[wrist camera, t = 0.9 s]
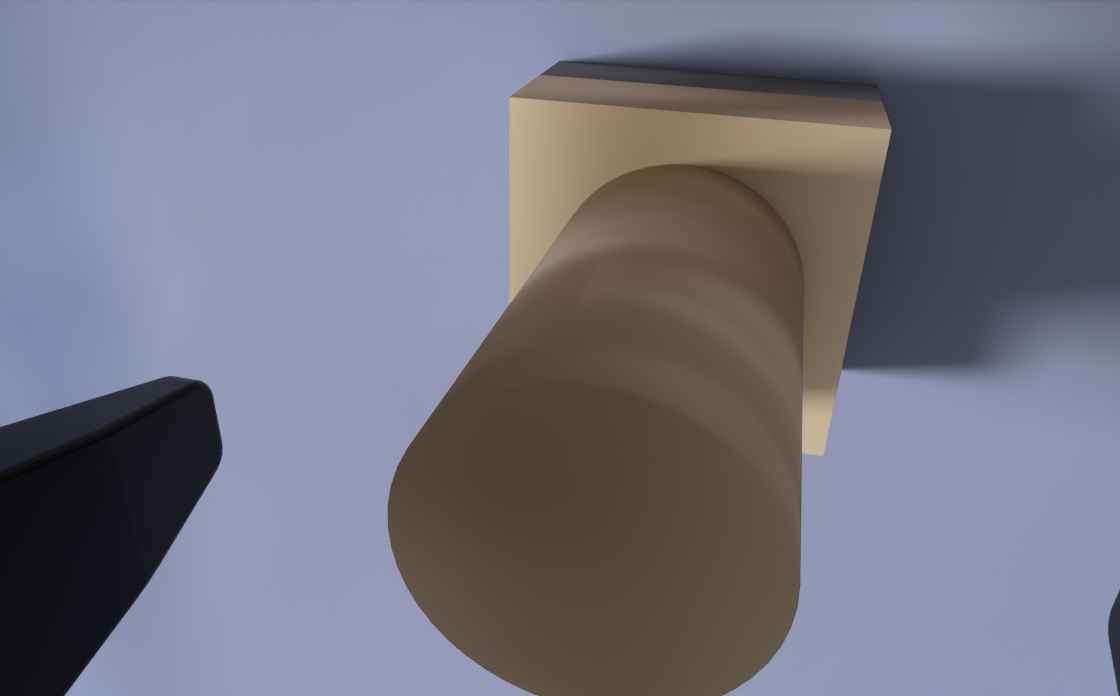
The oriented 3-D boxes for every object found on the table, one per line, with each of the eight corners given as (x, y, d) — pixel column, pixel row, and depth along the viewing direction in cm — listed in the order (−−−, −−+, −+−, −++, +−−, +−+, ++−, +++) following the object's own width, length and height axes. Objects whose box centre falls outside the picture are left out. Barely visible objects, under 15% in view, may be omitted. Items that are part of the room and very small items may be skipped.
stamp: (876, 84, 13) (965, 349, 6) (820, 368, 16) (831, 816, 8) (560, 61, 14) (282, 260, 7) (553, 330, 17) (342, 699, 9)
